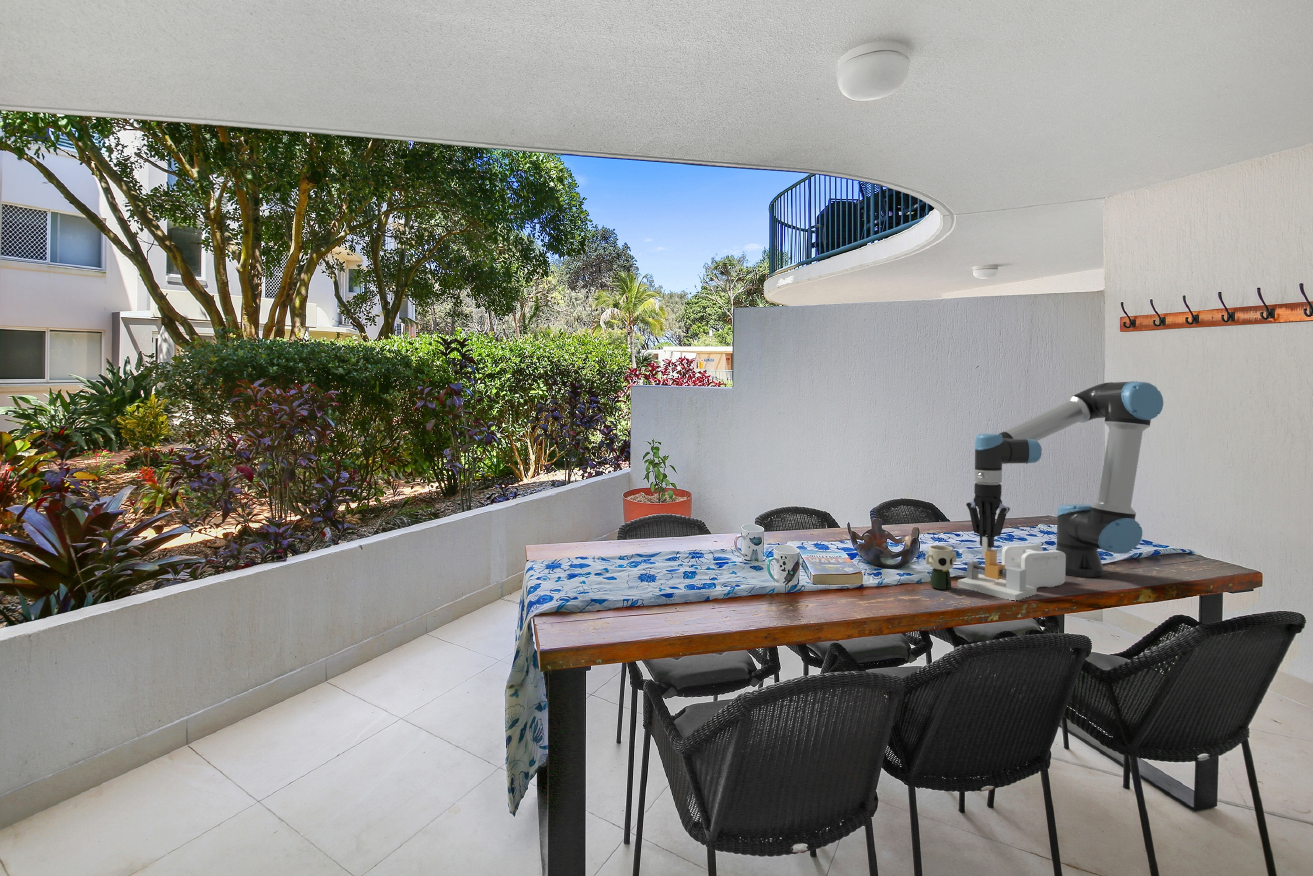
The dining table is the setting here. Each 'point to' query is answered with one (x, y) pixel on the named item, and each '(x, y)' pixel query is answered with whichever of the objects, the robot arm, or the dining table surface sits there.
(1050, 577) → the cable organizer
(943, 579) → the character mug
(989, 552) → the sleeve
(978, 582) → the slider rail fixture
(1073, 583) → the dining table surface
